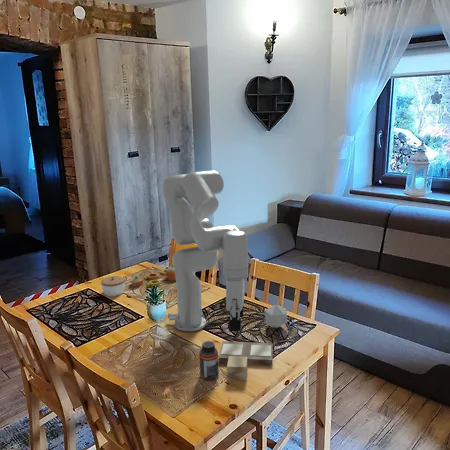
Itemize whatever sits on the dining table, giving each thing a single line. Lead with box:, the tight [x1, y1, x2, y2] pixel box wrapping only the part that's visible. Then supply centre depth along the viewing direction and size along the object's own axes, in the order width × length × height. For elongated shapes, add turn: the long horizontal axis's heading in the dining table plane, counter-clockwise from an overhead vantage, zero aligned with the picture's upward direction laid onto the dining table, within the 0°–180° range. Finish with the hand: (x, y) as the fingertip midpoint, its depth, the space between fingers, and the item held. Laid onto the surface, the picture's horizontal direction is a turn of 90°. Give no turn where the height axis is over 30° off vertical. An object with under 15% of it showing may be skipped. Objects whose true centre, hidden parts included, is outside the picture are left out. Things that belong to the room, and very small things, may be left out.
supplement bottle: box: [198, 340, 220, 381], centre depth 140 cm, size 6×6×11 cm
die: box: [264, 304, 288, 329], centre depth 170 cm, size 8×9×10 cm
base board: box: [218, 340, 274, 366], centre depth 152 cm, size 18×11×2 cm, turn 83°
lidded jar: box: [100, 275, 126, 297], centre depth 205 cm, size 11×11×9 cm
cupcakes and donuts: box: [130, 263, 176, 288], centre depth 218 cm, size 26×16×10 cm, turn 137°
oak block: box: [226, 356, 249, 382], centre depth 140 cm, size 6×6×5 cm
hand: (236, 323), depth 136 cm, fingers open, 9 cm apart
